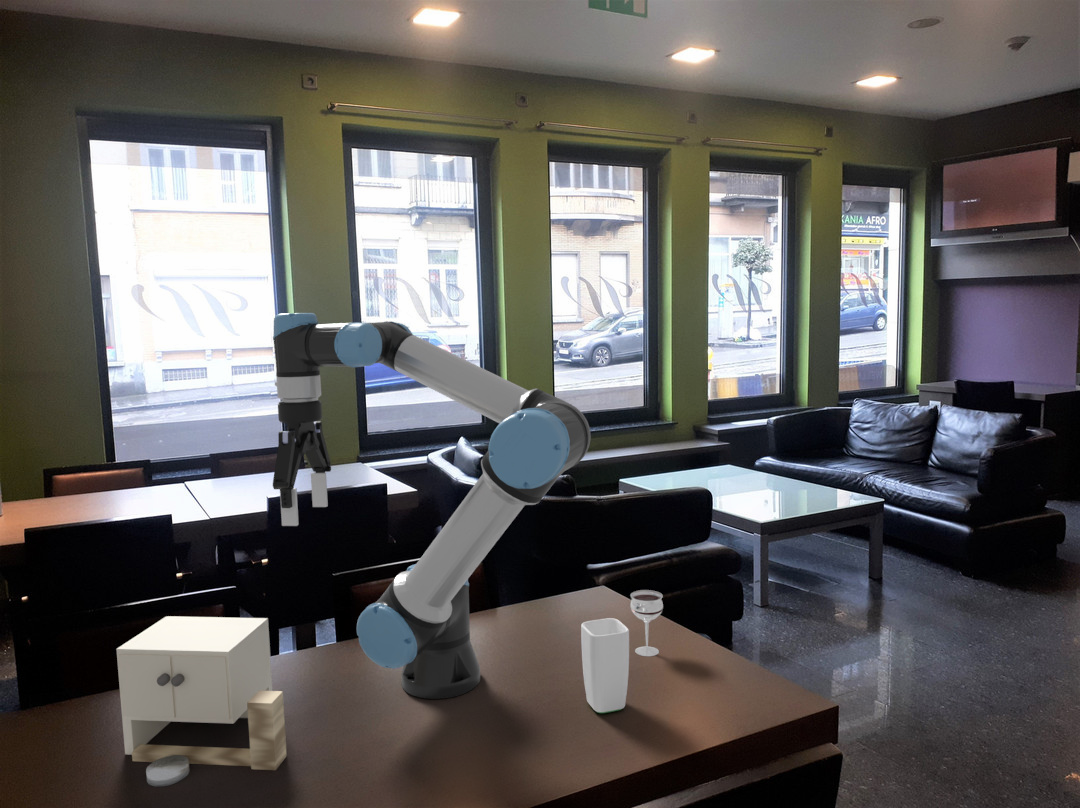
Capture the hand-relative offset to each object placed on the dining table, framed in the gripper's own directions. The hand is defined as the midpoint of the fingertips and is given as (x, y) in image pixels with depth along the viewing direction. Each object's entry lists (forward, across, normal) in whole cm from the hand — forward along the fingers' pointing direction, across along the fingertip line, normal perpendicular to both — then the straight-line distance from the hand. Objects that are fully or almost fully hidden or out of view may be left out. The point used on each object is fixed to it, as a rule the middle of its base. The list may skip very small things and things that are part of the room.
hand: (306, 515), depth 143 cm
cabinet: (+35, +14, -14) cm, 40 cm away
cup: (+35, 0, +54) cm, 64 cm away
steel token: (+35, +26, -13) cm, 46 cm away
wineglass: (+35, -24, +62) cm, 75 cm away
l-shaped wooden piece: (+35, +22, -9) cm, 42 cm away
